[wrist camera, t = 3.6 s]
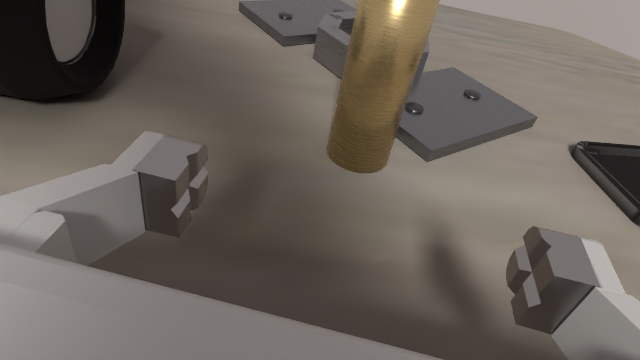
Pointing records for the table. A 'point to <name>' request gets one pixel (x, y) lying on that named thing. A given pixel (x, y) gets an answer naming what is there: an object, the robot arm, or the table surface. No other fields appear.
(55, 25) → the portable speaker
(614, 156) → the phone
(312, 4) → the hinge body
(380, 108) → the pin
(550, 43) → the table surface
